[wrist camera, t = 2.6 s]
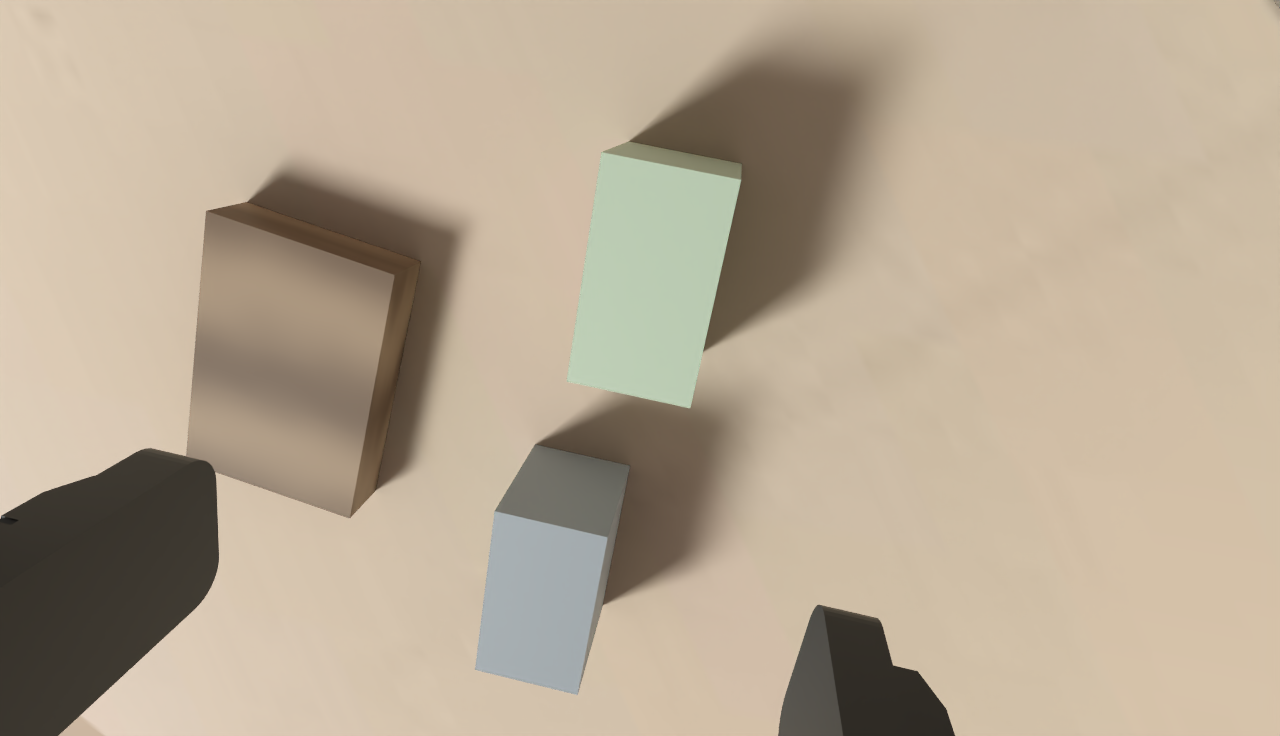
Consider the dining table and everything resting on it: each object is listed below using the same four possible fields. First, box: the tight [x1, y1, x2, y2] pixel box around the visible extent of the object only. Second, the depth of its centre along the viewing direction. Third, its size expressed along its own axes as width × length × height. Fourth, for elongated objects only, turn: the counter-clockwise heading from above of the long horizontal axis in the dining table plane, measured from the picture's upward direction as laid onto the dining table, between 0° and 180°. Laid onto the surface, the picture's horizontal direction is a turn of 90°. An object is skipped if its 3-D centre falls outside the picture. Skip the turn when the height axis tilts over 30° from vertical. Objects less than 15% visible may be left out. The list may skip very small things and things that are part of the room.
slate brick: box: [475, 444, 630, 695], centre depth 33 cm, size 8×4×6 cm, turn 170°
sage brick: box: [567, 142, 742, 408], centre depth 28 cm, size 8×4×6 cm, turn 170°
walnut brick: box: [186, 202, 421, 518], centre depth 33 cm, size 12×8×3 cm, turn 163°
